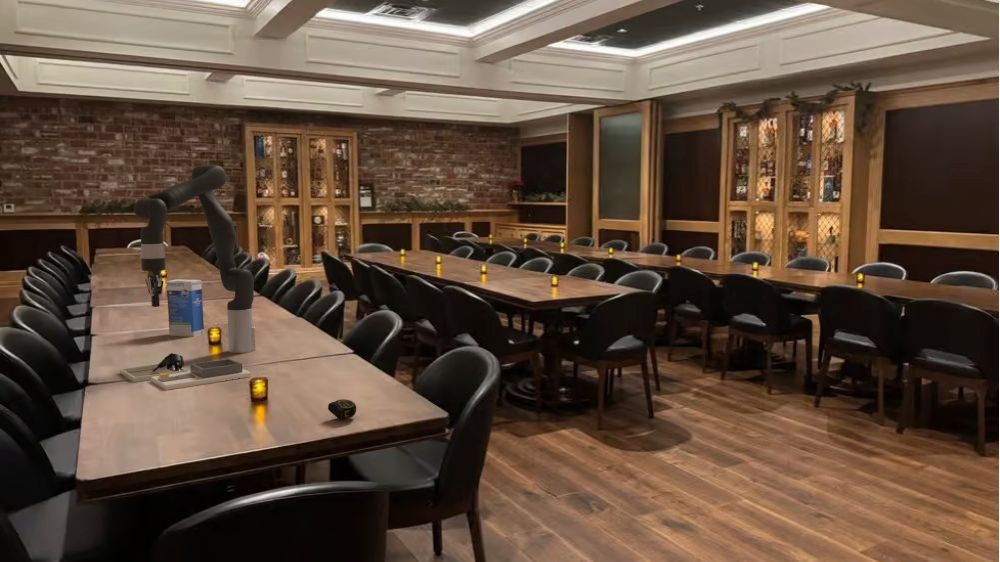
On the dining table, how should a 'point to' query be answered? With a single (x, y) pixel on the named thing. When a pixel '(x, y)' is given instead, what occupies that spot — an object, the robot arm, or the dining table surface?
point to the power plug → (171, 362)
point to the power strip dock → (202, 374)
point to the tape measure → (342, 408)
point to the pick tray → (141, 368)
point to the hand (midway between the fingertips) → (155, 306)
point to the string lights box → (185, 307)
